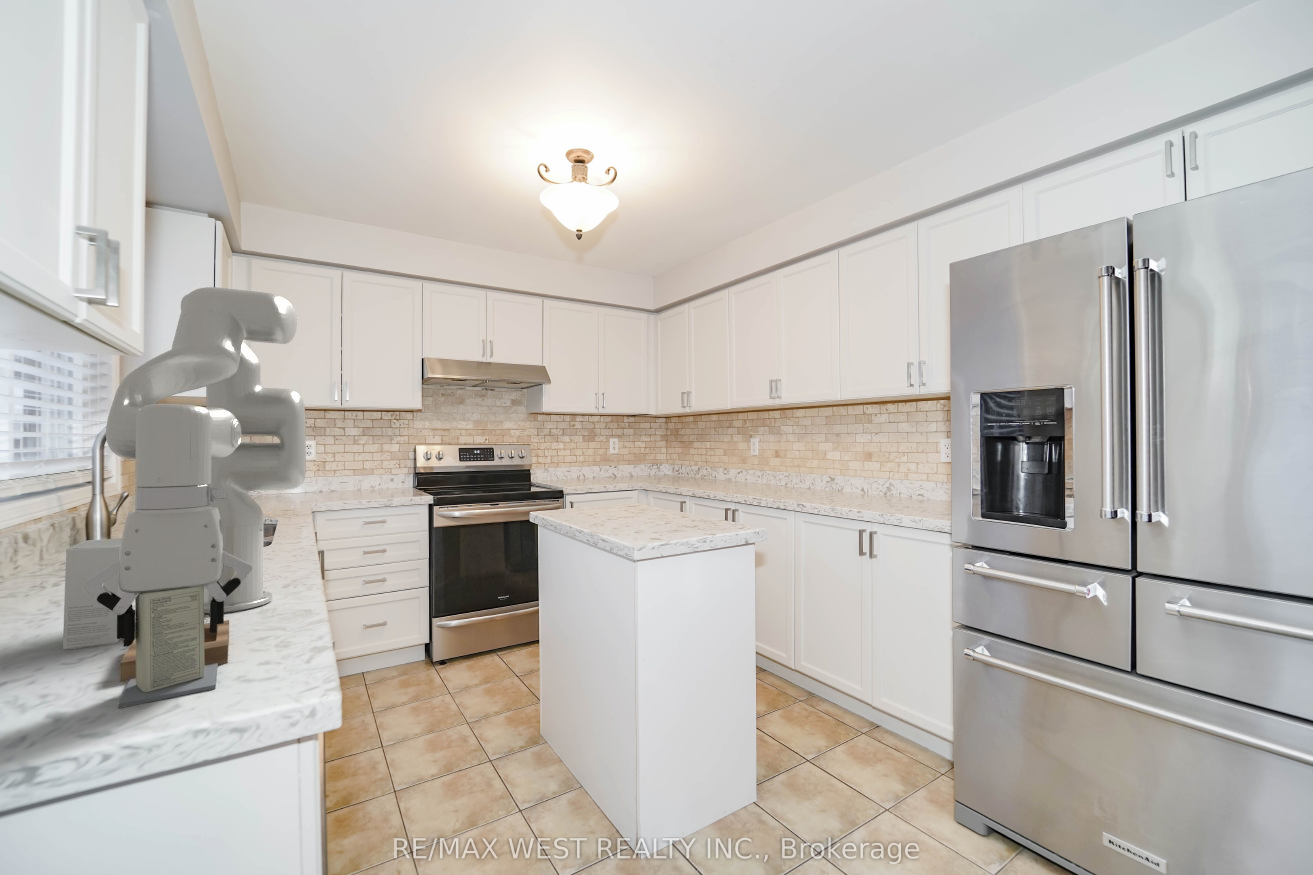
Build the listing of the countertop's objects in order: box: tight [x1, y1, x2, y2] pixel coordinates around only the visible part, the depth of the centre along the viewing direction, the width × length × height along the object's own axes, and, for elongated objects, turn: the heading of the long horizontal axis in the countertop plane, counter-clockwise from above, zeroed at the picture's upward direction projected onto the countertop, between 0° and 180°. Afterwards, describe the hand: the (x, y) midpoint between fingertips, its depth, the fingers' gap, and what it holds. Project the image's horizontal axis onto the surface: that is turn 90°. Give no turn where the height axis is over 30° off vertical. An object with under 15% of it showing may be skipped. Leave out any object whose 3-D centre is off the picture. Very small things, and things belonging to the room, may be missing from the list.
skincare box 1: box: [62, 537, 133, 651], centre depth 91 cm, size 8×7×16 cm
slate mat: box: [117, 663, 219, 709], centre depth 73 cm, size 9×9×1 cm
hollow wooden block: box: [119, 619, 230, 683], centre depth 83 cm, size 15×11×2 cm
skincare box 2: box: [134, 586, 205, 693], centre depth 73 cm, size 6×4×12 cm
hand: (172, 635), depth 73 cm, fingers open, 7 cm apart
